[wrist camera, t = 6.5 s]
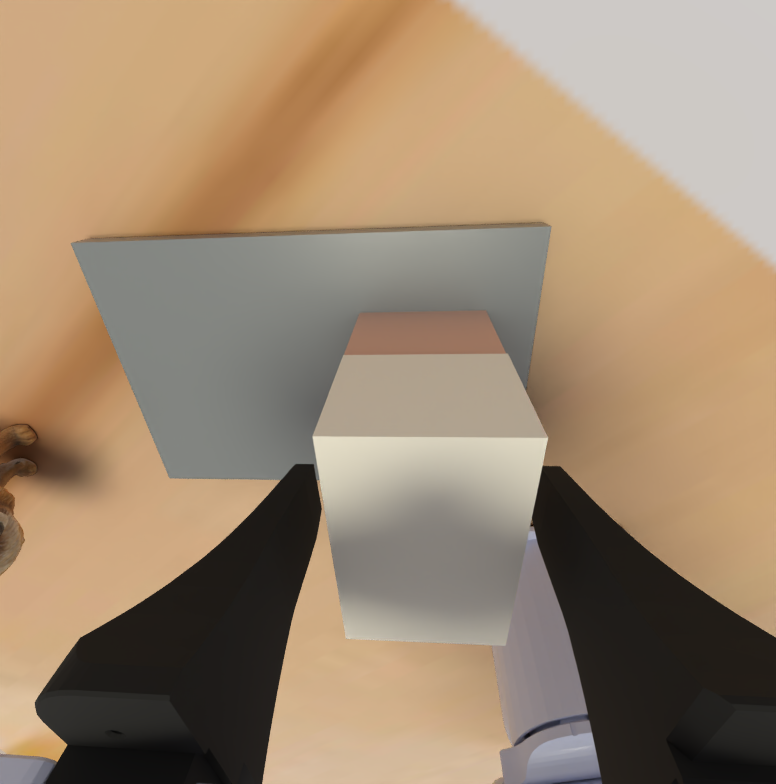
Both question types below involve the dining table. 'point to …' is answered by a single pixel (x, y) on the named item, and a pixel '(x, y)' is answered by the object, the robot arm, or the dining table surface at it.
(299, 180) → the dining table surface
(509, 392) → the cream brick
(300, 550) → the robot arm
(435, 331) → the terracotta brick
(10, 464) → the lion figurine
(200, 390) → the baseplate
